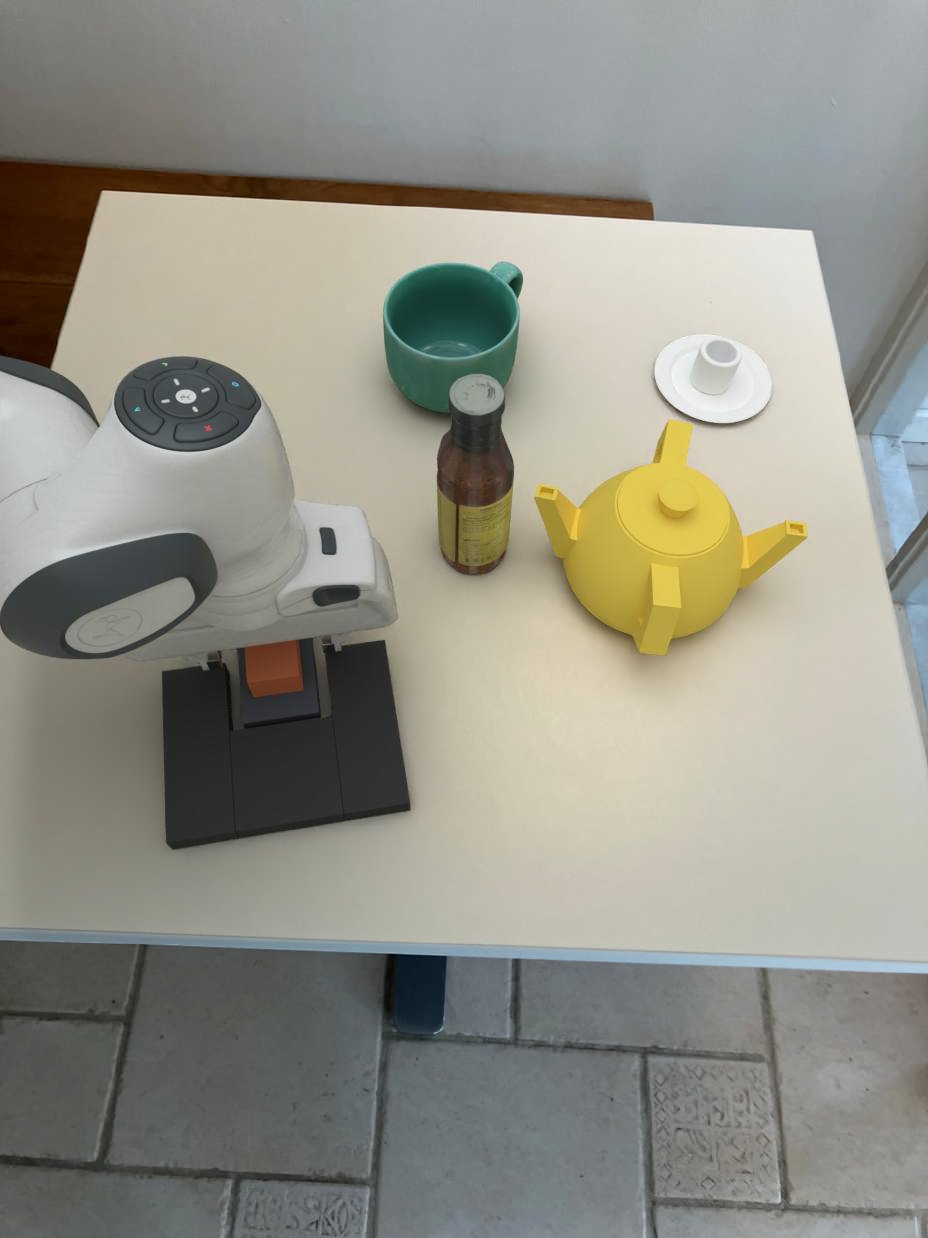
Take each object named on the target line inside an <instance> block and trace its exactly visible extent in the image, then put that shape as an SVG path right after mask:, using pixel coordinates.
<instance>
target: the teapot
mask: <svg viewBox="0 0 928 1238" xmlns="http://www.w3.org/2000/svg"><path fill="white" fill-rule="evenodd" d="M693 427H694V423H690V422H685V421H680V420H676V419H672V418H668V420H667V422H666V424H665V426H664V428H663V430H662V431H661V433H660V434H661V435H660V436H659V438H658V440H657V442H656V443H657V444H656V448H655V450H654V451H655V452H654V455H653V459H652V463H647V464H643V465H639V466H637V467H633V468H630V469H628V470H625V471H622V472H620V473H618V474H616V475H614V476H612V477H610V478H608V479H607V480H606V481H604V482H602V483H601V484H600V485H599V486H597V487H596V488H595V489H594V490H593V491H592V492H590V493H589V495H587V497H586V498H585V499H584V501H583V502H582V503H581V504H580V505H579V507H577V506H576V505H575V504H574V503H573V502H572V501H571V500H570V499H569V498H568V497H567V496H566V495H564V494H563V492H561V490H560V489H559V487H557V486H553V485H548V484H543V483H537V485H536V489H535V493H534V502H535V504H536V506H537V507H536V508H537V509H538V512H539V515H540V517H541V520H542V522H543V525H544V529H545V530H546V533H547V537H548V539H549V541H550V545H551V547H552V549H553V552H554V555H555V557H558V558H560V559H562V564H563V569H564V573H565V576H566V579H567V581H568V584H569V586H570V588H571V590H572V591H573V593H574V595H575V597H576V598H577V600H578V601H579V602H580V603H581V605H582V606H583V607H584V608H585V609H586V610H587V611H588V612H589V613H590V614H591V615H593V616H594V617H595V618H596V619H597V620H599V621H600V622H602V623H603V624H605V625H606V626H608V627H610V628H612V629H613V630H616V631H618V632H621V633H624V634H625V635H629V636H632V638H633V640H634V643H635V646H636V648H637V650H638V653H639V654H647V655H648V654H649V655H655V656H656V655H657V656H667V653H668V650H669V646H670V643H671V641H672V640H673V639H679V638H684V637H687V636H690V635H693V634H695V633H698V632H700V631H703V630H704V629H706V628H708V627H709V626H711V625H713V624H714V623H715V622H716V621H718V620H719V619H720V618H721V617H722V616H723V615H724V614H725V613H726V611H727V610H728V608H729V607H730V605H731V604H732V602H733V600H734V599H735V596H736V595H737V592H738V590H739V589H747V588H748V587H749V586H750V585H752V584H754V582H756V581H757V580H758V579H759V578H761V577H762V576H763V575H764V574H765V573H767V572H768V571H769V570H770V569H771V568H773V567H774V566H775V565H776V564H777V563H780V561H781V560H783V558H785V557H786V556H788V555H789V554H790V553H791V552H792V551H793V550H794V549H796V548H797V547H799V545H801V544H802V543H803V542H804V541H806V540H807V538H808V536H809V535H808V525H807V522H803V521H794V520H788V519H787V520H786V519H785V520H784V521H783V522H781V523H778V524H776V525H773V526H770V527H767V528H765V529H762V530H759V531H756V532H754V533H750V534H748V535H743V534H742V529H741V526H740V523H739V520H738V517H737V515H736V513H735V510H734V508H733V506H732V505H731V503H730V501H729V499H728V497H727V495H725V493H724V491H722V490H721V488H720V487H719V486H718V485H717V484H716V483H715V482H714V481H713V480H712V479H711V478H710V477H708V476H707V475H705V474H704V473H702V472H700V471H699V470H696V469H694V468H692V467H690V466H687V461H688V456H689V455H688V454H689V449H690V444H691V438H692V433H693Z"/></svg>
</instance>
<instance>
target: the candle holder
mask: <svg viewBox="0 0 928 1238" xmlns="http://www.w3.org/2000/svg"><path fill="white" fill-rule="evenodd" d="M653 372H654V374H653V375H654V380H655V383H656V386H657V388H658V390H659V391H660V393H661V394H662V396H663V398H665V400H666V401H667V402H668V403H669V404H671V406H673V407H674V408H675V409H677V410H679V411H680V412H681V413H683V414H685V415H687V416H688V417H691V418H694V419H697V420H700V421H703V422H708V423H714V424H715V423H716V424H731V423H732V424H733V423H739V422H741V421H745V420H747V419H750V418H752V417H754V416H756V415H757V414H758V413H760V412H761V411H762V410H763V409H764V408H765V407H766V406H767V404H768V402H769V401H770V398H771V396H772V391H773V380H772V375H771V372H770V369H769V366H768V365H767V364H766V362H764V360H763V359H762V357H760V356H759V354H758V353H757V352H756V351H755V350H753V349H751V348H750V347H748V346H746V345H745V344H743V343H741V342H739V341H737V340H734V339H732V338H729V337H726V336H723V335H718V334H711V333H710V334H709V333H696V334H690V335H686V336H682V337H679V338H677V339H675V340H673V341H671V342H670V343H668V344H667V345H666V346H665V347H663V348H662V350H661V351H660V352H659V354H658V355H657V357H656V360H655V362H654V370H653Z"/></svg>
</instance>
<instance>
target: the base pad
mask: <svg viewBox="0 0 928 1238" xmlns="http://www.w3.org/2000/svg"><path fill="white" fill-rule="evenodd" d="M341 649H342V651H337V652H328V653H324V658H325V665H326V666H325V667H326V674H327V675H326V676H327V683H328V691H329V699H330V700H329V701H330V709H331V715H328V716H321V718H314V719H307V720H301V721H294V722H288V723H281V724H274V725H268V726H261V727H254V728H248V729H245V728H243V729H241V728H240V729H235V730H234V724H233V723H234V722H233V719H234V718H233V706H232V704H233V703H232V689H231V672H230V671H229V668H228V666H227V664H226V662H222V663H223V667H222V668H217V669H211V670H205V671H204V670H203V669H202V667H201V665H196V666H189V667H182V668H175V669H167V670H162V671H161V691H162V692H161V693H162V695H161V696H162V731H163V732H162V735H163V774H164V775H163V776H164V777H163V778H164V779H163V780H164V781H163V782H164V784H163V785H164V817H165V818H164V820H165V821H164V823H165V825H164V826H165V843H166V845H167V846H168V847H169V848H171V849H172V850H179V849H186V848H191V847H198V846H203V845H209V844H215V843H221V842H227V841H233V840H234V841H235V840H239V839H244V838H245V839H246V838H252V837H257V836H263V835H269V834H275V833H281V832H282V833H283V832H287V831H294V830H300V829H307V828H312V827H318V826H324V825H329V824H331V825H332V824H337V823H340V822H341V823H343V822H349V821H353V820H361V819H367V818H373V817H380V816H384V815H391V814H397V813H403V812H408V811H411V799H410V793H409V787H408V786H409V785H408V780H407V773H406V768H405V760H404V754H403V747H402V740H401V735H400V728H399V722H398V715H397V709H396V702H395V696H394V690H393V689H394V688H393V683H392V677H391V670H390V664H389V657H388V649H387V644H386V639H379V640H373V641H366V642H359V643H352V644H351V643H350V644H345V645H341Z"/></svg>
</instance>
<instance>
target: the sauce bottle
mask: <svg viewBox="0 0 928 1238" xmlns="http://www.w3.org/2000/svg"><path fill="white" fill-rule="evenodd" d="M448 402H449V403H448V405H449V410H450V413H449V414H451V419H450V420H451V423H450V429H448V430H447V431H446V432H445V433H444V434H443V436H442V438H441V439H440V444H439V447H438V450H437V455H436V465H437V466H436V467H437V470H436V503H437V529H438V543H439V546H440V551H441V555H442V556H443V558H444V560H445V561H446V562H447V563H448V564H449V565H450V566H451V567H453V568H454V569H455V570H456V571H458V572H461V573H464V574H471V575H472V574H484V573H487V572H490V571H491V570H494V569H495V568H496V567H497V566H498V565H499V564H500V563H501V562H502V560H504V558H505V555H506V553H507V547H508V545H509V542H510V531H511V518H512V508H513V507H512V506H513V493H514V482H515V481H514V480H515V462H514V458H513V455H512V452H511V451H510V448H509V446H508V442H507V441H506V438H505V434H504V432H503V429H502V423H503V421H502V417H503V414H504V413H505V410H506V393H505V390H504V387H503V388H502V386H501V385H500V383H499V382H498V381H497V380H495V379H494V378H493V377H491V376H488V375H484V374H470V375H467V376H463V377H461V378H459V379H458V380H456V381H455V382H454V383H453V384H452V386H451V388H450V391H449V400H448Z"/></svg>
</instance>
